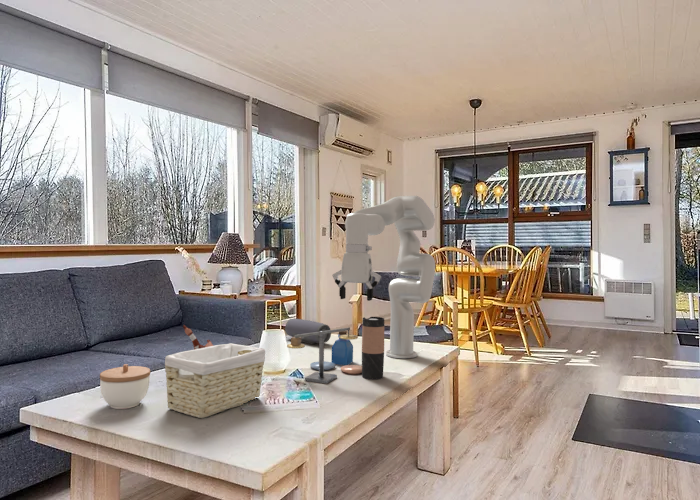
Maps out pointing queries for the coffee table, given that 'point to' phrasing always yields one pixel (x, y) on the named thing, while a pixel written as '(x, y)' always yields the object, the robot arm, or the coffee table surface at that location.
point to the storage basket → (213, 378)
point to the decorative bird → (194, 339)
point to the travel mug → (372, 348)
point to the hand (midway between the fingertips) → (356, 299)
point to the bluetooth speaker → (306, 330)
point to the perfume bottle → (342, 351)
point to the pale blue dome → (326, 365)
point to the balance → (320, 353)
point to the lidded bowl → (124, 385)
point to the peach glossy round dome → (352, 369)
